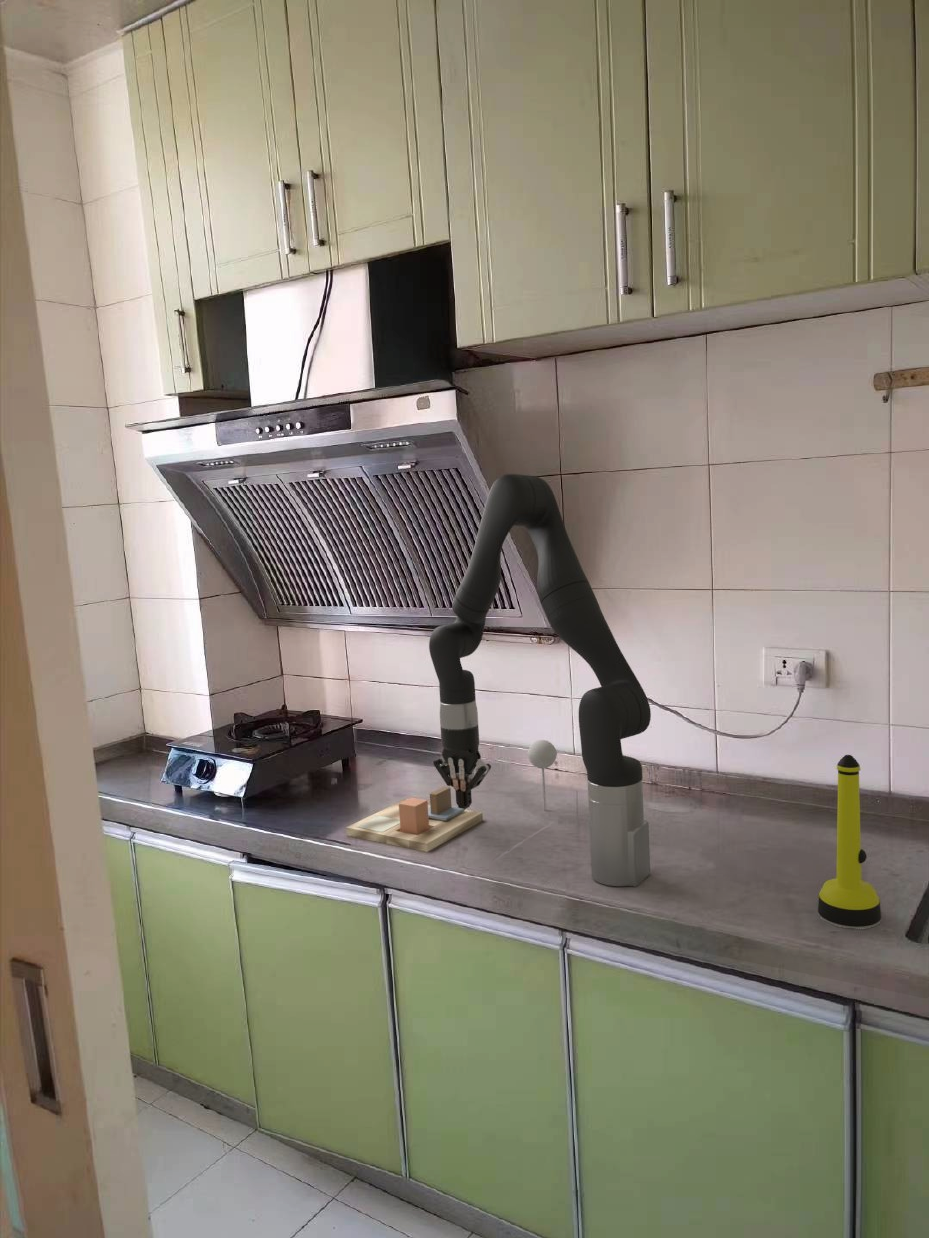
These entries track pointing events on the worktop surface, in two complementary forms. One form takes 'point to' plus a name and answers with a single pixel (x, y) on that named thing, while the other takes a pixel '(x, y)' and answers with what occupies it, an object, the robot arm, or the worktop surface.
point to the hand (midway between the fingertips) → (464, 807)
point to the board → (388, 831)
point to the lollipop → (542, 758)
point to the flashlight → (849, 861)
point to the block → (414, 816)
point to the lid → (442, 805)
